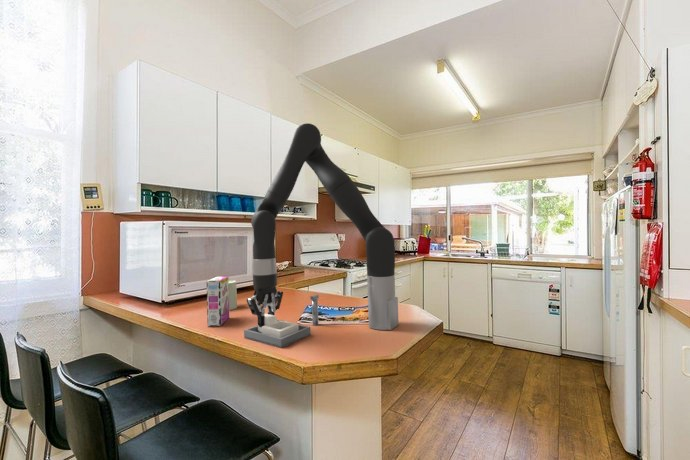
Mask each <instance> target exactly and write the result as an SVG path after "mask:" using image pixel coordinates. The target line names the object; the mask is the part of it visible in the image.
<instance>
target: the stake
mask: <svg viewBox="0 0 690 460" xmlns="http://www.w3.org/2000/svg"><path fill="white" fill-rule="evenodd" d="M309 297H310V301H311V313H312V315H311V317H312V326H319V305H318V299H320V295H319V294H313V295H310V296H309Z"/></svg>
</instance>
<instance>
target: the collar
mask: <svg viewBox="0 0 690 460" xmlns="http://www.w3.org/2000/svg"><path fill="white" fill-rule="evenodd" d="M264 316H265V318H264V322H265V326H262V327H259V326H258V332H262V333H263V334H267V335H271V336H275V337H279V338H283V337H285V336H287V335H290V334H292V333H294V332H297V331H299V325H300V324H299V323H295V322H291V321H286V320H284V319H280V320H279V321H276V320H277V315H270V314H268V313H265V314H264Z"/></svg>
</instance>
